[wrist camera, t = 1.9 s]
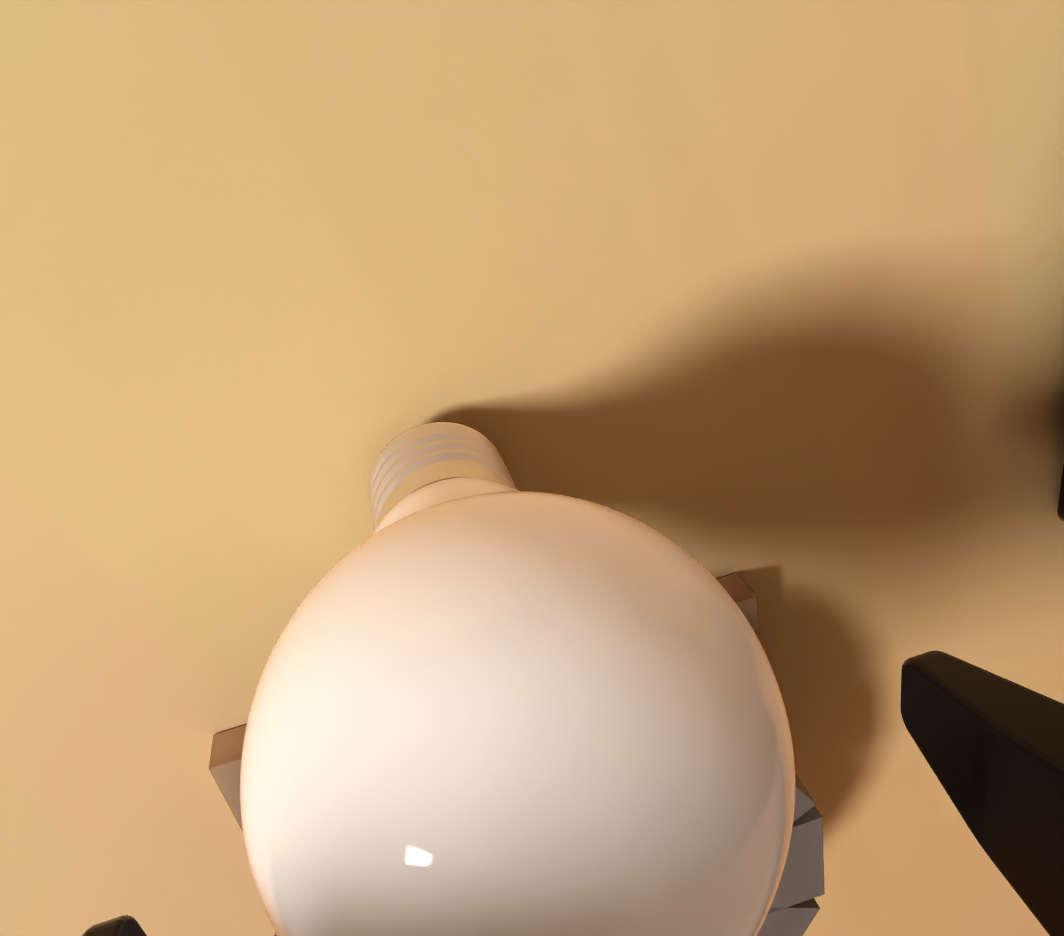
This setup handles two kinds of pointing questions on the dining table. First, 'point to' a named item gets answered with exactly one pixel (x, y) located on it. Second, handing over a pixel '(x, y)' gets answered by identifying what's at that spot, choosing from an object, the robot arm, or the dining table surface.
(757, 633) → the grey stone fire pit
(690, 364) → the dining table surface
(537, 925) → the lightbulb
